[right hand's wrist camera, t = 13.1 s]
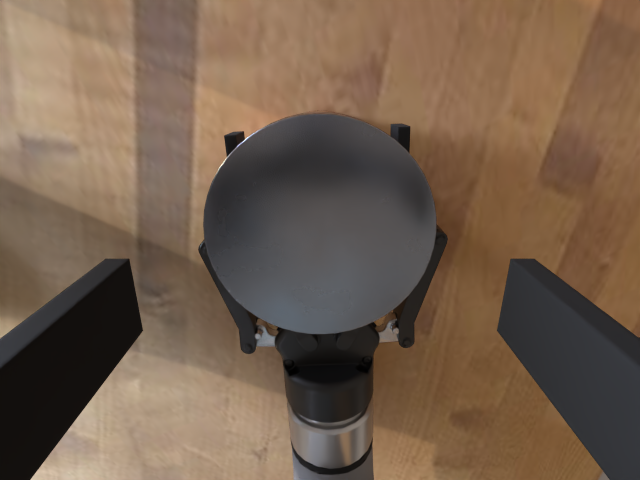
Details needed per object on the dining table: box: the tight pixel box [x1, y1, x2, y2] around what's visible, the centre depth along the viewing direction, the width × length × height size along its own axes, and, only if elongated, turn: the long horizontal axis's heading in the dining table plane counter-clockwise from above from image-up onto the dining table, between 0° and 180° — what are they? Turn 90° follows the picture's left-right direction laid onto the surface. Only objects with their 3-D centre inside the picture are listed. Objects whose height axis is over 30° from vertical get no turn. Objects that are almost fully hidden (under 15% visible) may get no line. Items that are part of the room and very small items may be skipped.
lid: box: [203, 112, 436, 334], centre depth 19 cm, size 11×11×2 cm
